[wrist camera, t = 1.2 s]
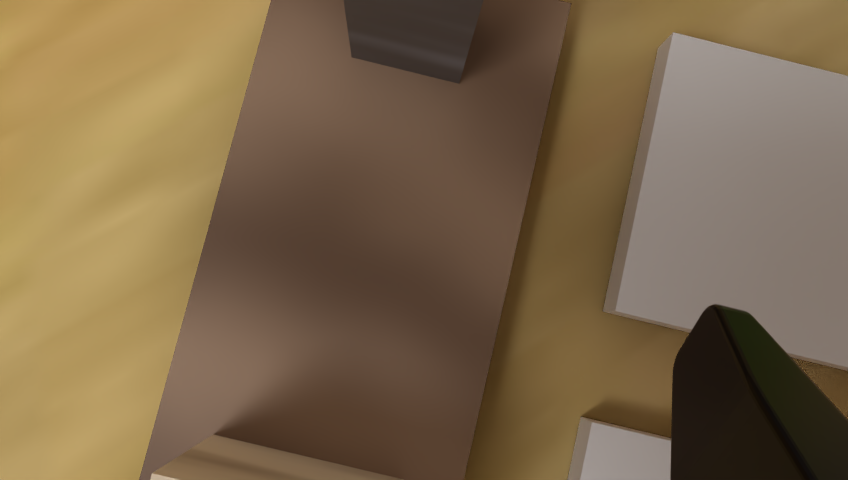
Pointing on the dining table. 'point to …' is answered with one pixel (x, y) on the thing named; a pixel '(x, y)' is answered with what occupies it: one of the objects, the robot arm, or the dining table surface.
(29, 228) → the dining table surface
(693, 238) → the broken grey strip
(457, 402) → the grey post stand
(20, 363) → the dining table surface
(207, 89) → the dining table surface
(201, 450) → the birch cube
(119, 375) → the dining table surface
